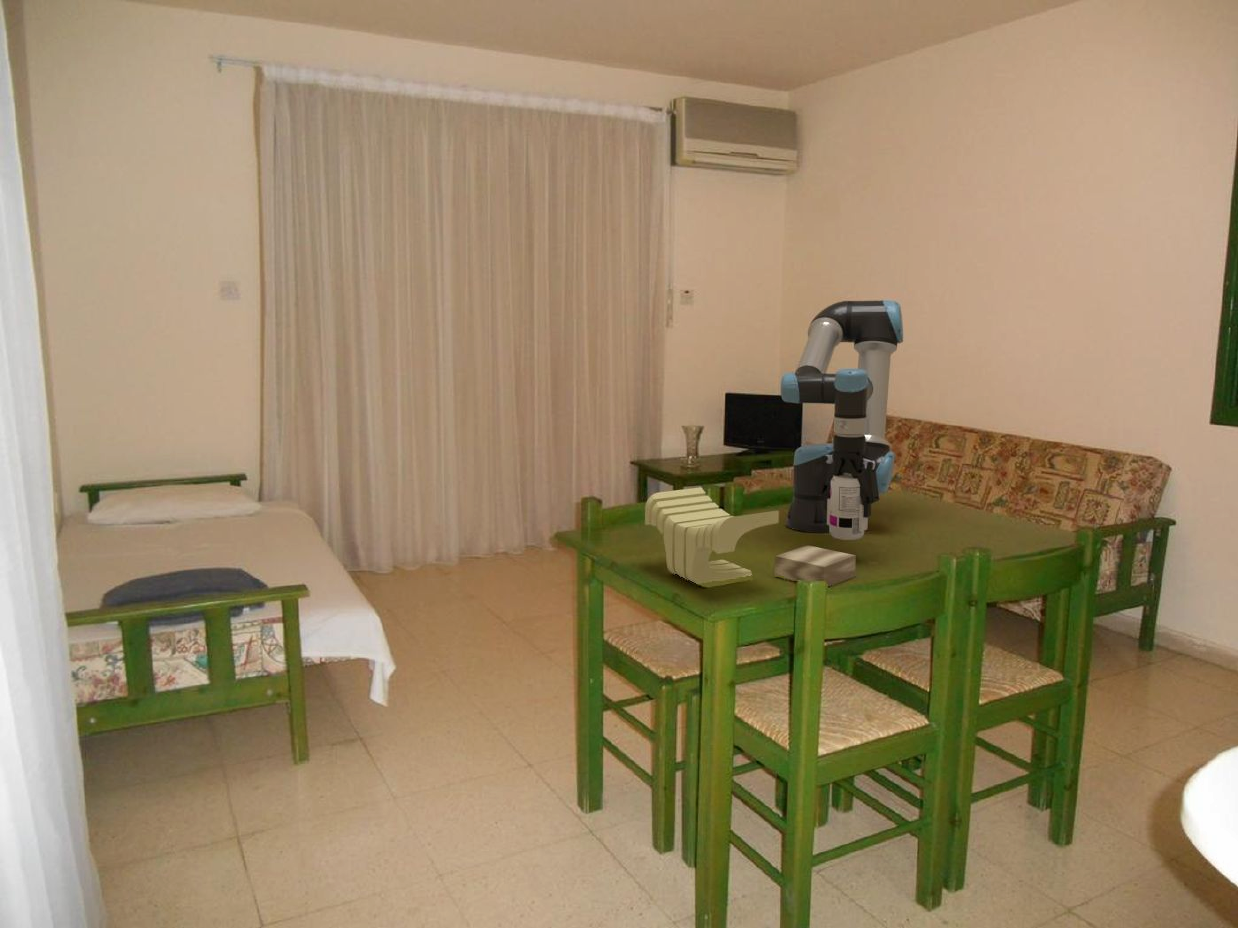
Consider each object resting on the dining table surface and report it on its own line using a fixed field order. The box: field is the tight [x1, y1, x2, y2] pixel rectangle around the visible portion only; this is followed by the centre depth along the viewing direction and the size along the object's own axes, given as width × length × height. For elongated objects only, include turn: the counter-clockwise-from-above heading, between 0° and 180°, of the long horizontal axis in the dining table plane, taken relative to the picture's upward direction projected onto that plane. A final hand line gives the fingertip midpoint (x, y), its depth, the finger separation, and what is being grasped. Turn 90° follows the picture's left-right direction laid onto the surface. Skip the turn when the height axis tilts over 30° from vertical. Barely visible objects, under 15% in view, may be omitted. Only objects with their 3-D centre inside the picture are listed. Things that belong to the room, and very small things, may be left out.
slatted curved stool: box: [644, 486, 780, 585], centre depth 209 cm, size 30×16×18 cm, turn 29°
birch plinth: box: [774, 545, 857, 586], centre depth 210 cm, size 13×13×5 cm
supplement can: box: [828, 473, 865, 541], centre depth 222 cm, size 8×8×15 cm
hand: (846, 526), depth 223 cm, fingers closed on supplement can, 8 cm apart
